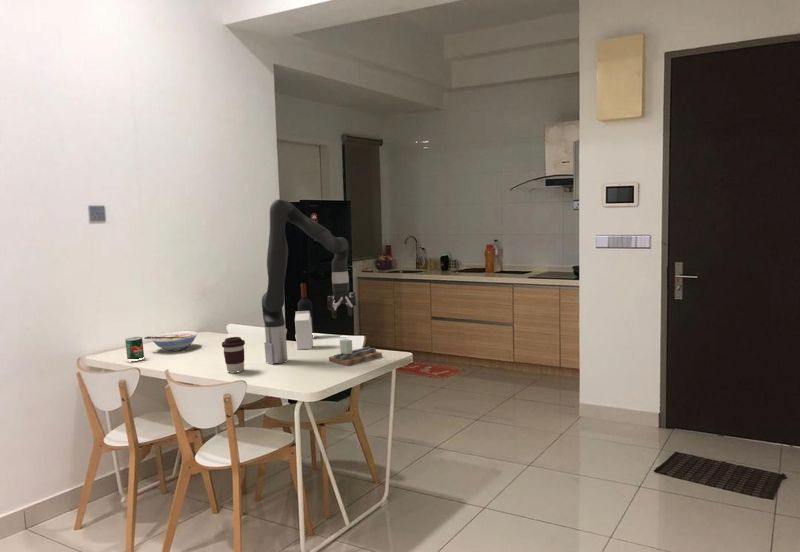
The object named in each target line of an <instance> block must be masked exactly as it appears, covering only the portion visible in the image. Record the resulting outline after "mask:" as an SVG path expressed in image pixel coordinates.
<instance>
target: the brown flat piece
mask: <svg viewBox="0 0 800 552" xmlns="http://www.w3.org/2000/svg"><path fill="white" fill-rule="evenodd" d="M352 352H353V353H351V354H347V355H343V353H341V352H340V353H337V354H333V355H331V356H329V357H328V362H330V363H333V364H338V365H342V366H347V367H349V366H353V365H357V364H360V363H365V362H369V361H371V360H375V359H379V358H382V357H383V353H382V352H381V351H377V348H376V347H371V346H365V347H362V348H356V349H352Z"/></svg>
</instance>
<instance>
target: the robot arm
mask: <svg viewBox="0 0 800 552" xmlns="http://www.w3.org/2000/svg"><path fill="white" fill-rule="evenodd" d="M286 223H291V224H293V225H295V226H296V227H298V228H299V229H300V230H302V231H303V233H305V234H306V235H308V236H309V237H310V238H312V239H314V241H316V242H318V243H320V244H321V245H322V246H323V247H324V248H325V249H326V250H327V251H329V252H331V253H332V254H334V256H333V259H332V261H331V286H332V294H333V295H331V296H330V295H328V296H327V299H326V300H327V303H326V304H327V308H326V309H328V310H330V311H331V317H332V318H333V319H335V320H336V319H337V318H338V314H337V312H338V311H337V309H338V307H339V306H340V305H342V304H343V305H346V306H347V315H348V316H350V317H352V316H353V314H354V313H353V307H354V306H356V305H357V302H356V293H355V292H350V282H349V281H350V278H349V272H348V271H349V270H348V258H349V250H350V247H349V242H348V240H347V239H346V238H345V237H342V236H339V237H336V236H334V235H333V234H332V233H331V230H329V229H327V228H326V227H325V226H323V225H321V224H320V223H318V222H316V221H315V220H313V219H312V218H309V216H306V214H304V213H303V212H301V211H300V210H299V209H298V208H297V207H296V206H295V205H294V204H293V203H292V202H290V201H288V200H284V199H275V200H274V201H272V202H271V204H270V207H269V236H268V245H267V246H268V248H267V253H266V254H267V255H266V256H267V257H266V268H267V270H266V271H267V277H268V278H267V288H266V290H267V291H266V292H265V293H264V294H263V295H262V296H261V308H262V309H261V311H262V318H263V322H264V323H263V324H264V333H265V341H264V344H263V345H264V355H265V357H264V358H265V363H266V362H268V363H267V364H270V363H272V364H271V365H275V364H274V363H279V364H282V363H281V362H284V363H286V362H285V361H287V360H288V357H289V356H288V347H287V346H288V345H287V336H286V335H287V334H286V333H287V332H286V320H285V316H284V313H283V311H284V310H283V307H284V305H285V280H286V274H287V273H286V272H287V268H288V258H289V257H288V256H289V246H288V240H287V237H286V225H287V224H286ZM287 362H288V361H287Z"/></svg>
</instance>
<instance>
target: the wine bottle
mask: <svg viewBox="0 0 800 552" xmlns="http://www.w3.org/2000/svg"><path fill="white" fill-rule="evenodd" d="M300 293H301V299H300V300H299V301H298V302H297V311H310V315H311V322H312V333H314V334H315V331H314V329H315V328H314V318H313V317H314V316H313V304H312V301H311V300H310V299H309V298H308V297H307V296H308V295H307V283H300Z"/></svg>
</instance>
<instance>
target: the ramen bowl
mask: <svg viewBox="0 0 800 552" xmlns="http://www.w3.org/2000/svg"><path fill="white" fill-rule="evenodd" d="M197 335H198V333H197V332H196V331H189V330H188V331H186V330H185V331H173V332H166V333H162V334H157V335H155V336H146V337H145V336H144V339H145V340H146V339H148V340H149V339H150V340H152V342H153V343H154V344H155V345H156V346H157V347H158V348H160V349H164V350H167V351H169V350H177V351H181V350H183V349H185V348H186V347H188V346H190V345H191V344H193V342H194V341H195V339H196V337H197Z"/></svg>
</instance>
